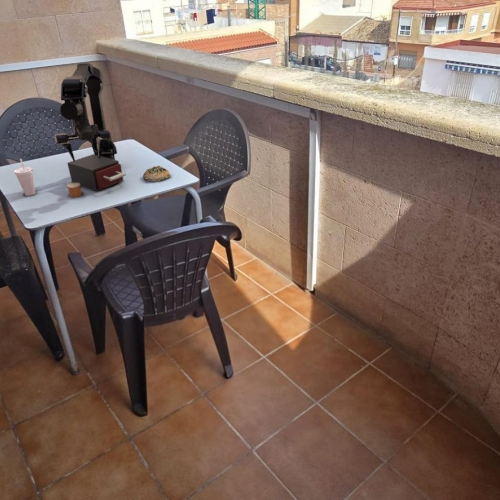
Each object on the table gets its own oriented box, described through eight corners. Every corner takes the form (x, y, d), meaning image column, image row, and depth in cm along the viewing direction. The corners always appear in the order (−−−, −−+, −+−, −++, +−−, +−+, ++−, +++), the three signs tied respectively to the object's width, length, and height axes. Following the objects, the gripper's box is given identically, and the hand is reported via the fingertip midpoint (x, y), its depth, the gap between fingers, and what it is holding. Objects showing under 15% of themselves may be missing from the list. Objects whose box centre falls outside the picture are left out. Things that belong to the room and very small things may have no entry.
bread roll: (154, 170, 185) (154, 159, 182) (175, 177, 181) (175, 166, 178) (137, 179, 177) (136, 168, 174) (158, 187, 173) (158, 176, 170)
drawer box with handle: (121, 181, 176) (118, 160, 171) (96, 191, 167) (92, 170, 163) (97, 173, 184) (93, 154, 179) (72, 183, 175) (67, 162, 170)
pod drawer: (131, 182, 172) (128, 166, 168) (108, 192, 164) (105, 175, 160) (100, 173, 181) (97, 157, 178) (77, 181, 173) (73, 165, 170)
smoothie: (27, 198, 162) (17, 162, 155) (17, 195, 165) (6, 159, 158) (42, 192, 167) (32, 157, 160) (32, 189, 170) (22, 154, 163)
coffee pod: (77, 191, 167) (75, 181, 165) (85, 194, 165) (82, 184, 163) (66, 195, 164) (64, 185, 162) (74, 198, 161) (71, 188, 159)
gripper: (54, 120, 143) (64, 167, 150) (111, 116, 152) (117, 160, 158) (50, 117, 152) (59, 161, 159) (103, 113, 161) (110, 155, 167)
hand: (87, 159), depth 160 cm, fingers open, 9 cm apart
